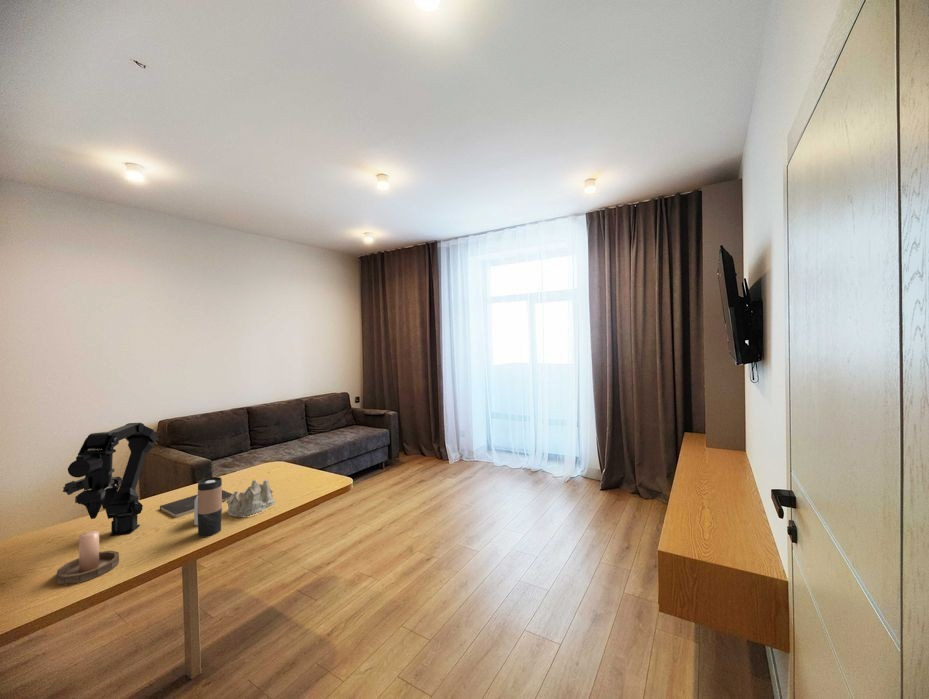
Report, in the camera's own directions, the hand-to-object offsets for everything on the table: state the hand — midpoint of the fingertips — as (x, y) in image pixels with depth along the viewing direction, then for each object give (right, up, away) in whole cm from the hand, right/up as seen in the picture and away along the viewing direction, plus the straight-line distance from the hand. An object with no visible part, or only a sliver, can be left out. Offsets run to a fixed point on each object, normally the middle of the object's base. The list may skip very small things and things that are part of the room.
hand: (99, 513), depth 123 cm
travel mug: (+30, -13, +13) cm, 35 cm away
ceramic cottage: (+34, -14, +33) cm, 49 cm away
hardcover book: (+6, -14, +38) cm, 41 cm away
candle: (+8, -12, -11) cm, 19 cm away
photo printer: (+20, -13, +23) cm, 33 cm away
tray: (+8, -13, -11) cm, 19 cm away
